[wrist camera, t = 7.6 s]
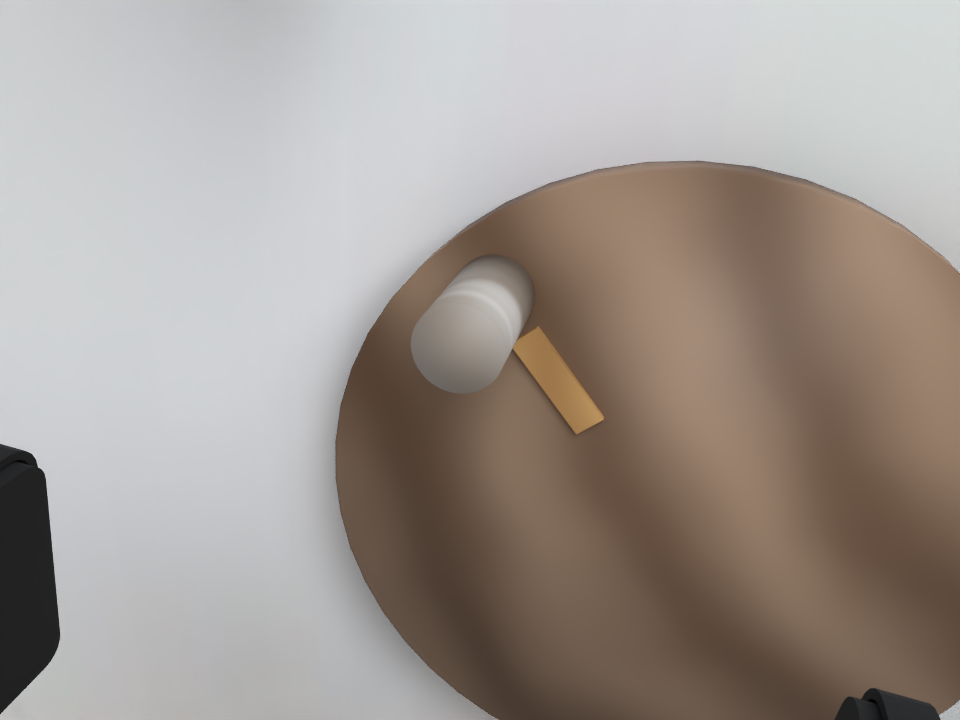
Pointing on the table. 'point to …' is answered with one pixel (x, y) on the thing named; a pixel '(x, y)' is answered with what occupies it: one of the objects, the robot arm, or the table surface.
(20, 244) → the table surface
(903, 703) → the robot arm
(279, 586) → the table surface
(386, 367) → the turntable platter
